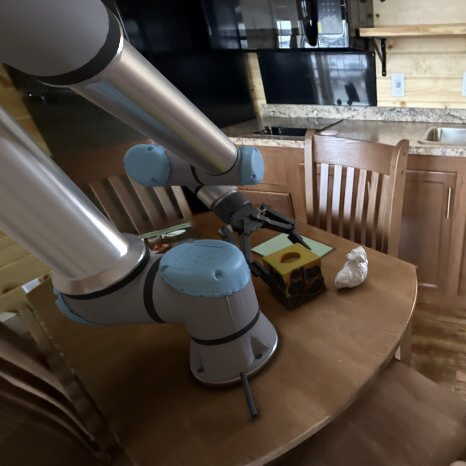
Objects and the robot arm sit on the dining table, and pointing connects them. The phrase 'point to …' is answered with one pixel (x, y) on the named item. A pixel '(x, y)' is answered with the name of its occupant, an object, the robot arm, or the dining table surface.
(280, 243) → the napkin
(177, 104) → the robot arm
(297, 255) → the yellow and black cube
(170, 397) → the dining table surface
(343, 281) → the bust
